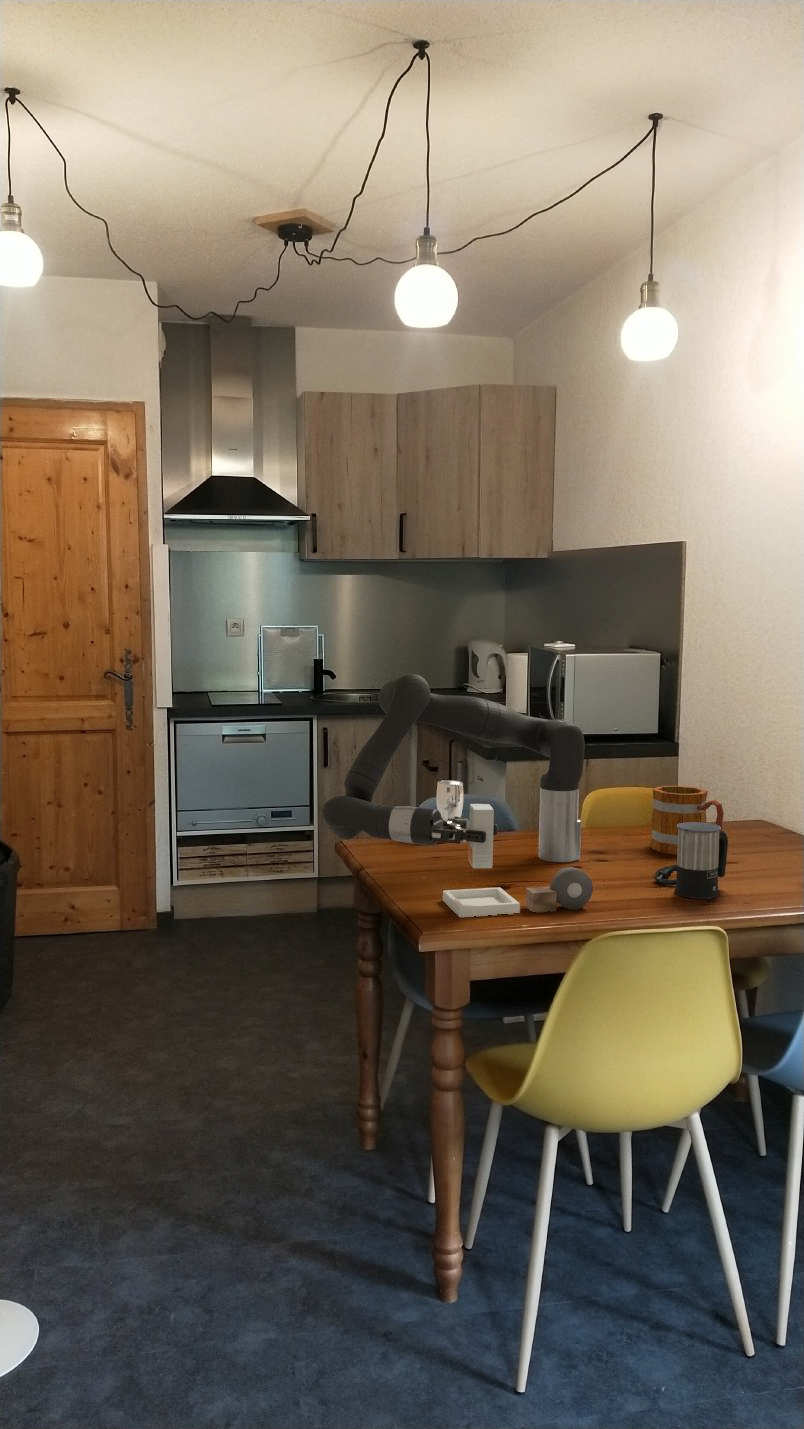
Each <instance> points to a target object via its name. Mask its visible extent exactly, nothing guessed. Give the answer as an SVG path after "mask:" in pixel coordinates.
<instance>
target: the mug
mask: <svg viewBox="0 0 804 1429" xmlns="http://www.w3.org/2000/svg"><path fill="white" fill-rule="evenodd" d="M652 798H653V801H652V802H653V804H652V813H651V828H652V829H651V832H652V833H651V834H652V835H651V843H650V848H651V850H652V849H653V850H654V851H656V852H659V853H663V854H671V855H677V851H678V827H677V824H680V823H685V822H703V823H707V809H709V808H710V807H711V806H712V805H713V806H715V808H716V819H715V824H716V825H718V826H720V827H721V829H720V830H722V831H723V821H724V815H725V814H724V809H723V804H721V802H719V801H717V800H716V799H713V800H708V801H707V798H708V790H706V789H702V788H701V787H695V786H686V785H685V786H684V785H659V786H657V787H655V788H652Z"/></svg>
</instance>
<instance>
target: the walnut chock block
mask: <svg viewBox="0 0 804 1429" xmlns="http://www.w3.org/2000/svg"><path fill="white" fill-rule="evenodd" d="M556 898H557V892H556V891H555V890H553V889H552V888H551V887H550V886H537V887H526V888H525V908H526V909H528V910H529V911H530V912H531V911H532V912H536V913H547V912H548V911H550V913H551V912H557V902H556ZM532 912H531V913H532ZM548 913H549V912H548Z"/></svg>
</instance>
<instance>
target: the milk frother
mask: <svg viewBox="0 0 804 1429" xmlns="http://www.w3.org/2000/svg"><path fill="white" fill-rule="evenodd" d="M677 827H678V851H677V854H676V855H677V856H676V857H677V858H676V861H677V862H676V864H674V865H673V864H672V865H666V866H664V867H662V868H659V869H658V870H656V871H655V873H654V875H653V879H654V881H655V882H657V883H659V884H662V885H665V886H675V888H674V891H673V892H674V893H675V894H676V895H678V896H680V897H683V898H686V899H693V900H694V899H695V900H710V899H715V898H717V897H718V896H720V892H719V878H723V877H725V876H726V870H727V869H726V866H727V856H728V849H729V848H728V845H729V840H728V834H727V833H726V832H725V831H724V830H723V829H722V830H720V829H721V827H720V826H718V825H716V823H710V822H706V823H703V822H685V823H680V824H677ZM674 872H676V878H675V879H669V878H670V877H671V875H672V874H673V873H674Z"/></svg>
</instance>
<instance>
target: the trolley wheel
mask: <svg viewBox="0 0 804 1429" xmlns="http://www.w3.org/2000/svg"><path fill="white" fill-rule="evenodd" d="M549 887H551V888H552V889H553V890H555V891H556V892H557V898H556V903H557V904H560V905H561V907H563V908H565V909H568V910H579V909H581V908H583V907H584V906H586V904H588V902H590V899H592V898H591V897H592V895H593V890H594V886H593V882H592V880H591V878H590V877H589V875H588V874H586V873H585V872H584V871H583V870H580V869H579V868H577V867H573V866H567V867H563V868H561V869H560V870H558V871H556V873H555V874H554V875H553V877H552V879H551V881H550V886H549Z"/></svg>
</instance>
